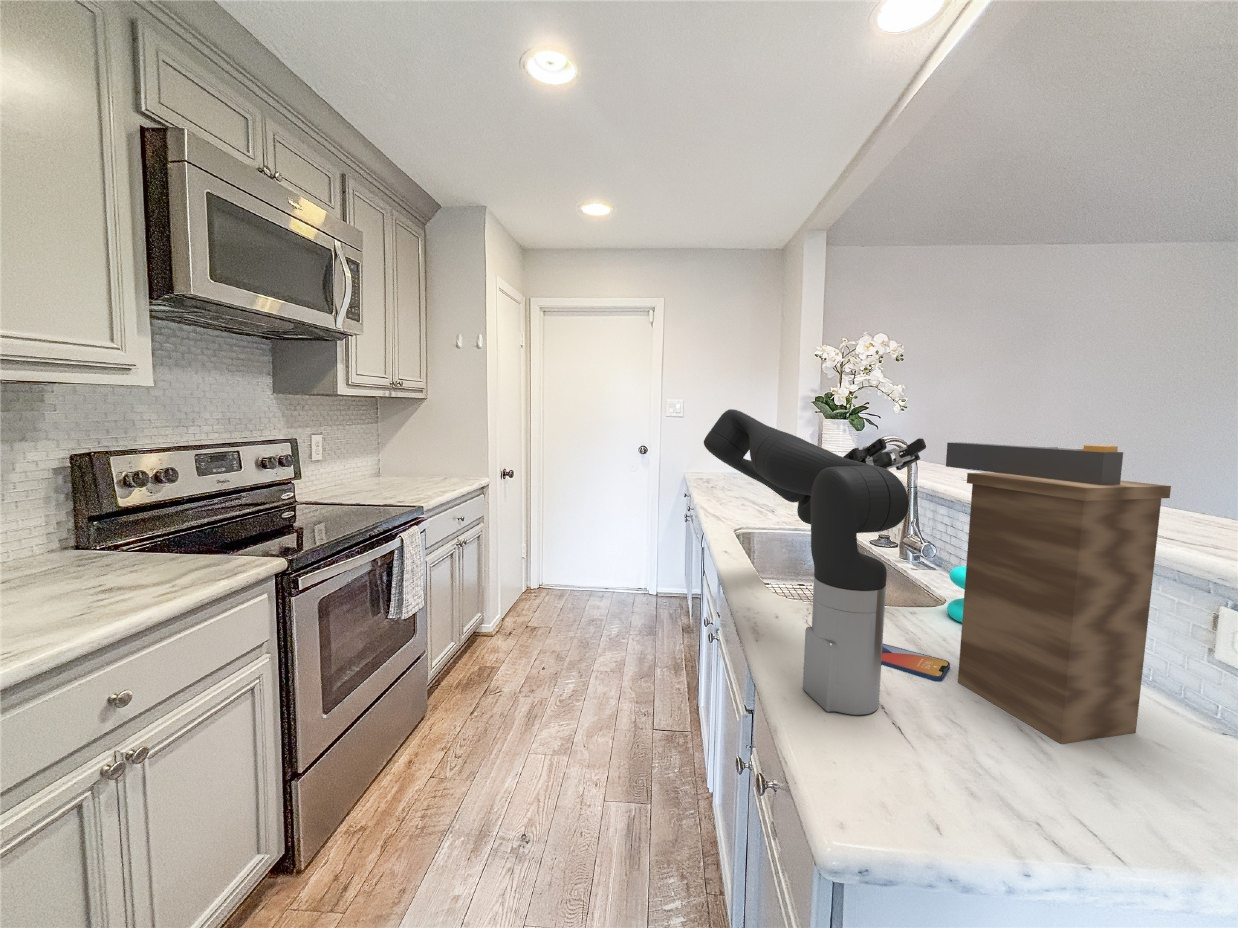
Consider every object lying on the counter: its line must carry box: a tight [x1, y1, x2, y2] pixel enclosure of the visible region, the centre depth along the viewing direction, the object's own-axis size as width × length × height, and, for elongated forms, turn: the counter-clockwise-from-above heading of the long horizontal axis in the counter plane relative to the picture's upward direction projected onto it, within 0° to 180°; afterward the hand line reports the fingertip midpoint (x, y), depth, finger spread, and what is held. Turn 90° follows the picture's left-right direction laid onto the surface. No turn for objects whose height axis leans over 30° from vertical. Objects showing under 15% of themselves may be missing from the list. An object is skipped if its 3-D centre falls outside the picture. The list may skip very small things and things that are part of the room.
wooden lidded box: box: [957, 472, 1172, 745], centre depth 70 cm, size 13×16×32 cm
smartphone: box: [881, 643, 951, 683], centre depth 85 cm, size 7×15×1 cm, turn 47°
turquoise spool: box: [946, 565, 966, 624], centre depth 101 cm, size 10×10×10 cm
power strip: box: [945, 441, 1124, 485], centre depth 74 cm, size 3×23×5 cm, turn 12°
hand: (903, 442), depth 96 cm, fingers open, 8 cm apart
